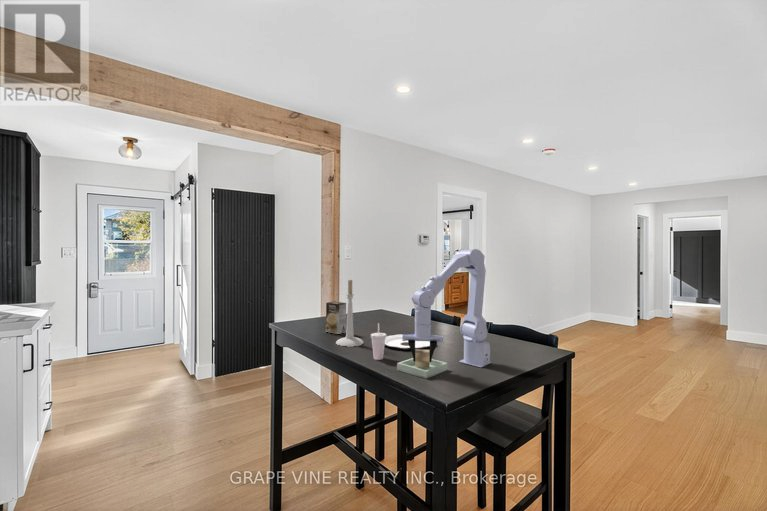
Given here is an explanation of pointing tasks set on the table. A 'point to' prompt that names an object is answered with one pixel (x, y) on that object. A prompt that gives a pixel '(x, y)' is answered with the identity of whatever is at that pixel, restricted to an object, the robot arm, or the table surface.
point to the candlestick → (349, 324)
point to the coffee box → (336, 317)
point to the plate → (396, 341)
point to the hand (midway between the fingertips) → (422, 361)
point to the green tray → (422, 368)
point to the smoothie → (378, 344)
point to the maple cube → (422, 358)
